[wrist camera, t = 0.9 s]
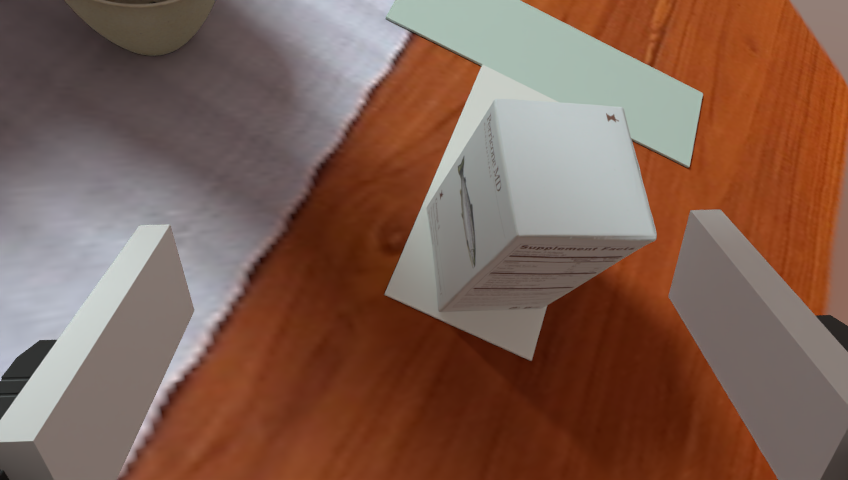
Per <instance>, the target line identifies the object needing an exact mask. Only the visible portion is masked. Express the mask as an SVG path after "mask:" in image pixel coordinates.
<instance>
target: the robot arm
mask: <svg viewBox="0 0 848 480" xmlns="http://www.w3.org/2000/svg"><path fill="white" fill-rule="evenodd" d="M669 298H670V300H671V302H672V303H673V305H674V307H675V308H676V310H677V312H678V313H679V315H680V317H681V318H682V320H683V322H684V323H685V325H686V327H687V328H688V330H689V332H690V333H691V335H692V337H693V338H694V340H695V342H696V343H697V345H698V347H699V348H700V350H701V352H702V353H703V355H704V357H705V358H706V360H707V362H708V363H709V365H710V367H711V368H712V370H713V372H714V373H715V375H716V377H717V378H718V380H719V382H720V383H721V385H722V387H723V388H724V390H725V392H726V393H727V395H728V397H729V398H730V400H731V402H732V403H733V405H734V407H735V408H736V410H737V412H738V413H739V415H740V417H741V418H742V420H743V422H744V423H745V425H746V427H747V428H748V430H749V432H750V433H751V435H752V437H753V438H754V440H755V442H756V443H757V445H758V447H759V448H760V450H761V452H762V453H763V455H764V457H765V458H766V460H767V462H768V463H769V465H770V467H771V468H772V470H773V472H774V473H775V475H776V477H777V478H778V480H848V326H847V325H845V324H844V323H842V322H840V321H839V320H837V319H836V318H834V317H833V316H831V315H819V316H815V315H814V314H813V313H812V312H811V310H810V309H809V308H808V307H807V306H806V305H805V304H804V303H803V301H802V300H801V299H800V298H799V297H798V296H797V295H796V294H795V292H794V291H793V290H792V289H791V288H790V287H789V286H788V285H787V284H786V282H785V281H784V280H783V279H782V278H781V277H780V276H779V275H778V273H777V272H776V271H775V270H774V269H773V268H772V267H771V266H770V265H769V263H768V262H767V261H766V260H765V259H764V258H763V257H762V256H761V254H760V253H759V252H758V251H757V250H756V249H755V248H754V247H753V245H752V244H751V243H750V242H749V241H748V240H747V239H746V238H745V237H744V235H743V234H742V233H741V232H740V231H739V230H738V229H737V228H736V226H735V225H734V224H733V223H732V222H731V221H730V220H729V219H728V217H727V216H726V215H725V214H724V213H723V212H722V211H721V210H691V211H690V214H689V218H688V222H687V226H686V230H685V234H684V238H683V242H682V246H681V250H680V254H679V258H678V262H677V265H676V269H675V273H674V277H673V281H672V285H671V289H670V293H669ZM193 312H194V308H193V304H192V301H191V297H190V293H189V290H188V286H187V283H186V279H185V276H184V272H183V268H182V265H181V261H180V258H179V254H178V251H177V247H176V243H175V240H174V236H173V233H172V229H171V226H170V225H139V227H138V228H137V229H136V231H135V232H134V234H133V235H132V236H131V238H130V239H129V241H128V242H127V243H126V245H125V246H124V248H123V249H122V250H121V252H120V253H119V255H118V256H117V257H116V259H115V260H114V262H113V263H112V264H111V266H110V267H109V269H108V270H107V271H106V273H105V274H104V276H103V277H102V278H101V280H100V281H99V283H98V284H97V285H96V287H95V288H94V290H93V291H92V292H91V294H90V295H89V297H88V298H87V299H86V301H85V302H84V304H83V305H82V306H81V308H80V309H79V311H78V312H77V313H76V315H75V316H74V318H73V319H72V320H71V322H70V323H69V325H68V326H67V327H66V329H65V330H64V332H63V333H62V334H61V336H60V337H59V339H58V340H40V341H38V342H37V343H36V344H34V345H33V346H32V347H30V348H29V349H28V350H26V351H25V352H24V353H22V354H21V355H20V356H18V357H17V358H16V359H15V361H14V362H13V363H12V364H11V366H10V367H9V368H8V370H7V371H6V372H5V373H4V375H3V376H2V377H1V378H2V380H1V381H0V480H116V479H117V477H118V475H119V473H120V471H121V469H122V466H123V464H124V462H125V460H126V458H127V456H128V453H129V451H130V449H131V447H132V445H133V443H134V440H135V438H136V436H137V434H138V432H139V430H140V427H141V425H142V423H143V421H144V419H145V416H146V414H147V412H148V410H149V408H150V406H151V403H152V401H153V399H154V397H155V395H156V393H157V390H158V388H159V386H160V384H161V382H162V380H163V377H164V375H165V373H166V371H167V369H168V367H169V364H170V362H171V360H172V358H173V356H174V353H175V351H176V349H177V347H178V345H179V343H180V340H181V338H182V336H183V334H184V332H185V330H186V327H187V325H188V323H189V321H190V319H191V317H192V314H193Z"/></svg>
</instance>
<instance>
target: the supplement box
mask: <svg viewBox="0 0 848 480" xmlns="http://www.w3.org/2000/svg"><path fill="white" fill-rule="evenodd" d="M426 210H427V216H428V222H429V228H430V235H431V242H432V250H433V259H434V269H435V279H436V289H437V303H438V311H439V312H456V311H488V310H517V309H541V308H543V307H545V306H547V305H548V304H550V303H552V302H553V301H555V300H557V299H558V298H560V297H562V296H564V295H565V294H567V293H569V292H570V291H572V290H573V289H575V288H577V287H578V286H580V285H582V284H583V283H585V282H586V281H588V280H590V279H591V278H593V277H594V276H596V275H598V274H599V273H601V272H602V271H604V270H606V269H607V268H609V267H610V266H612V265H614V264H615V263H617V262H618V261H620V260H622V259H623V258H625V257H626V256H628V255H630V254H631V253H633V252H635V251H636V250H638V249H640V248H642V247H643V246H645V245H647V244H649V243H651V242H653V241H655V240H656V236H657V234H656V229H655V226H654V222H653V218H652V215H651V211H650V208H649V203H648V200H647V196H646V192H645V188H644V185H643V181H642V177H641V173H640V168H639V164H638V161H637V158H636V154H635V150H634V147H633V143H632V139H631V135H630V131H629V127H628V124H627V120H626V116H625V111H624V108H623V107H614V106H603V105H590V104H575V103H560V102H547V101H532V100H518V99H495V100H494V101H493V103H492V104H491V106H490V108H489V109H488V111H487V112H486V114H485V116H484V117H483V119H482V120H481V122H480V123H479V125H478V127H477V128H476V130H475V132H474V133H473V135H472V136H471V138H470V139H469V141H468V143H467V144H466V146H465V147H464V149H463V151H462V152H461V154H460V155H459V157H458V158H457V160H456V162H455V163H454V165H453V166H452V168H451V169H450V171H449V173H448V174H447V176H446V177H445V179H444V181H443V182H442V184H441V185H440V187H439V188H438V190H437V192H436V193H435V195H434V196H433V198H432V200H431V201H430V203H429V204H428V206H427V208H426Z"/></svg>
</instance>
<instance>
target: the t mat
mask: <svg viewBox="0 0 848 480" xmlns="http://www.w3.org/2000/svg"><path fill="white" fill-rule="evenodd" d="M386 19H387V20H389V21H391V22H393V23H395V24H397V25H399V26H401V27H403V28H405V29H408V30H410V31H412V32H414V33H416V34H418V35H420V36H422V37H424V38H426V39H428V40H430V41H432V42H434V43H436V44H438V45H440V46H442V47H444V48H446V49H448V50H450V51H452V52H454V53H456V54H458V55H460V56H462V57H464V58H466V59H468V60H470V61H472V62H474V63H476V64H478V65H480V66H482V67H481V69H480V71H479V74H478V76H477V78H476V81H475V83H474V85H473V88H472V90H471V92H470V95H469V97H468V99H467V102H466V104H465V106H464V109H463V111H462V113H461V116H460V118H459V120H458V123H457V125H456V127H455V130H454V132H453V135H452V137H451V139H450V142H449V144H448V146H447V149H446V151H445V153H444V156H443V158H442V160H441V163H440V165H439V167H438V170H437V172H436V174H435V177H434V179H433V181H432V184H431V186H430V188H429V191H428V193H427V195H426V198H425V200H424V202H423V205H422V207H421V209H420V212H419V214H418V216H417V219H416V221H415V224H414V226H413V228H412V231H411V233H410V235H409V238H408V240H407V242H406V245H405V247H404V249H403V252H402V254H401V256H400V259H399V261H398V263H397V266H396V268H395V270H394V273H393V275H392V277H391V280H390V282H389V284H388V287H387V289H386V291H385V294H384V295H385V296H388V297H390V298H392V299H394V300H397V301H399V302H401V303H403V304H405V305H408V306H410V307H412V308H414V309H416V310H419V311H421V312H423V313H425V314H428V315H430V316H432V317H434V318H436V319H439V320H441V321H443V322H445V323H447V324H450V325H452V326H454V327H456V328H459V329H461V330H463V331H465V332H467V333H470V334H472V335H474V336H476V337H478V338H481V339H483V340H485V341H487V342H490V343H492V344H494V345H496V346H498V347H501V348H503V349H505V350H507V351H509V352H512V353H514V354H516V355H518V356H521V357H523V358H525V359H527V360H529V361H531V360H532V358H533V354H534V351H535V347H536V344H537V340H538V337H539V333H540V330H541V326H542V322H543V319H544V315H545V312H546V308H547V306H545V307H543V308H541V309H517V310H488V311H456V312H439V311H438V303H437V289H436V279H435V269H434V259H433V250H432V242H431V235H430V228H429V222H428V216H427V210H426V208H427V206H428V204H429V203H430V201H431V200H432V198H433V196H434V195H435V193H436V192H437V190H438V188H439V187H440V185H441V184H442V182H443V181H444V179H445V177H446V176H447V174H448V173H449V171H450V169H451V168H452V166H453V165H454V163H455V162H456V160H457V158H458V157H459V155H460V154H461V152H462V151H463V149H464V147H465V146H466V144H467V143H468V141H469V139H470V138H471V136H472V135H473V133H474V132H475V130H476V128H477V127H478V125H479V123H480V122H481V120H482V119H483V117H484V116H485V114H486V112H487V111H488V109H489V108H490V106H491V104H492V103H493V101H494V100H495V99H518V100H532V101H547V102H560V103H575V104H590V105H603V106H614V107H623V108H624V111H625V116H626V120H627V124H628V127H629V131H630V135H631V139H632V141H634V142H636V143H638V144H640V145H642V146H644V147H646V148H648V149H650V150H652V151H654V152H656V153H659V154H661V155H663V156H665V157H667V158H669V159H671V160H673V161H675V162H677V163H679V164H681V165H683V166H685V167H687V168H689V167H690V162H691V157H692V151H693V146H694V140H695V135H696V129H697V124H698V118H699V113H700V108H701V102H702V97H703V93H701V92H699V91H697V90H695V89H693V88H692V87H690V86H688V85H686V84H684V83H682V82H680V81H678V80H676V79H674V78H672V77H670V76H668V75H666V74H664V73H662V72H660V71H658V70H656V69H654V68H652V67H650V66H648V65H646V64H644V63H642V62H640V61H638V60H636V59H634V58H632V57H630V56H628V55H626V54H624V53H623V52H621V51H619V50H617V49H615V48H613V47H611V46H609V45H607V44H605V43H603V42H601V41H599V40H597V39H595V38H593V37H591V36H589V35H587V34H585V33H583V32H581V31H579V30H577V29H575V28H573V27H571V26H569V25H567V24H565V23H563V22H561V21H559V20H557V19H555V18H554V17H552V16H550V15H548V14H546V13H544V12H542V11H540V10H538V9H536V8H534V7H532V6H530V5H528V4H526V3H524V2H522V1H520V0H395V2H394V4H393V5H392V7H391V9H390V11H389V13H388V14H387V16H386Z"/></svg>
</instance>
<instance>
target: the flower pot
mask: <svg viewBox="0 0 848 480" xmlns="http://www.w3.org/2000/svg"><path fill="white" fill-rule="evenodd" d="M64 1H65V2H66V3H67V4H68V5H69V6H70V8H71V9H72V10H73V11H74V12H75V13H76V14H77V15H78V16H79V17H80V18H81V19H82V20H83V21H85V22H86V23H87V24H88V25H89V26H90V27H91V28H93V29H94V30H95V31H97V32H98V33H99V34H101V35H102V36H103V37H105V38H106V39H108V40H109V41H111V42H113V43H115V44H116V45H118V46H120V47H122V48H124V49H126V50H129V51H131V52H134V53H137V54H141V55H148V56H157V55H164V54H168V53H171V52H173V51H175V50H177V49H179V48H180V47H182V46H183V45H184V44H185V43H187V42H188V41H189V40H190V39H191V38H192V37H193V36H194V35H195V34H196V33H197V31H198V30H199V29H200V27H201V26H202V24H203V23H204V22H205V20H206V18H207V17H208V15H209V13H210V11H211V9H212V7H213V5H214V3H215V0H64ZM150 3H151V4H150Z"/></svg>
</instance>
